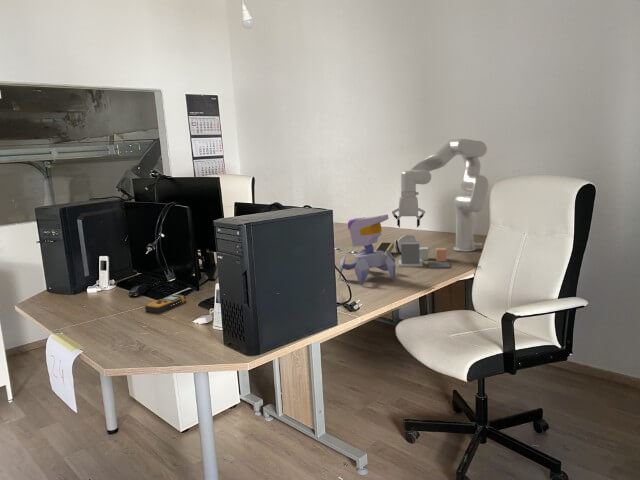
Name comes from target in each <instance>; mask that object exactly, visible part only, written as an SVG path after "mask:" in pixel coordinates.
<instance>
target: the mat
mask: <svg viewBox="0 0 640 480" xmlns="http://www.w3.org/2000/svg"><path fill="white" fill-rule="evenodd" d="M427 263H428V268H429V269H451V265H450V262H449V261H428V262H427Z"/></svg>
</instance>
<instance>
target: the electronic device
mask: <svg viewBox="0 0 640 480" xmlns="http://www.w3.org/2000/svg"><path fill="white" fill-rule="evenodd" d="M186 298H187V297H186V296H185V295H183V294H176V293H175V295H173V294H171V295H167V296H166V297H163V298H160V299H158V300H155V301H153V302H149V303H148V304H146V305H145V307H144V309H145V312H146V313H147V312H148V313H153V314H160V313H163V312H165V311H168V310H171V309H172V308H175V307H177V306H180V305H181V304H184V303H187V299H186ZM184 299H186V300H184ZM182 300H183V301H182ZM180 301H181V302H180ZM178 302H179V303H178ZM176 303H177V304H176ZM173 304H175V305H173ZM171 305H172V306H171Z"/></svg>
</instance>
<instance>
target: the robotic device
mask: <svg viewBox="0 0 640 480" xmlns="http://www.w3.org/2000/svg"><path fill="white" fill-rule="evenodd" d="M387 220H389V215H388V214H383V215H376V216H369V217H359V218H358V217H357V218H353V219H352V218H351V219H349V220H348V222H347V229H348V230H349V234H350V239H351V245H352V247H353V248H355V247H364V248H362V249H361V250H360V251H359V252H358V254H355V255H354V258H355V262H350V263H349V264H348V263H345V261H346V255H347V254H345V255H343V257H342V258H341V259H340V262H339V270H338V271H340V272H341V275H340V274H339V273H338V275H339V278H341V277H342V272H343V270H346V271H351V270H354V272H355V273H354V274H355V275H356V278H357V280H358V283H359V285H360V286H361V287H362V286H363V285H364V283H365V281H366V280H367V277H368V275H369V273H370V272H371V269H373V268H377V269H379V270H381V271H384V272H388V273H389V275H390V277H391V280H392V281H391V282H394V281H395V275H396V269H397V268H396V259H395V257H394V256H393V255H392V253H391V252H390V253H389V252H388V251H387V250H386V252H385V255H386V259H385V255H384V252H383V251H374V250H375V249H374V244H377V243H378V240H379V237H380V236H381V235H382V224H381V223H383V222H385V221H387Z"/></svg>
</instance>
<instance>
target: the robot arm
mask: <svg viewBox="0 0 640 480" xmlns="http://www.w3.org/2000/svg"><path fill="white" fill-rule="evenodd" d="M487 149H488V147H487V144H486V143H485V142H483V141H482V140H476V139H475V140H473V139H469V138H468V139H467V138H452V139H449V140H448V141H446V142H445V143H444V144H443V145H442V146H441V147H440V148H439V149H438V150H436V151H435V152H434V153H433V154H432V155H429V156H428V157H426V158H424V159H422V160H421V161H419V162H418V163H416V164H415V165H414V166H413V167H412V168H411V169H410V170H405V171H404V170H403V171H401V173H400V174H401V175H400V180H401V181H400V188H401V189H400V197H399V201H398V208H396V209H394V210H392V211H391V213H392V216H393V218H395V219H396V221H397V222H396V225H397V227H398V228H400V227H401V218H402V217H416V218H417V219H416V227H417V228H419V227H420V226H421V219H422V218H423V217H424V216H425V214H426V210H424V209H422V208H419V199H418V195H419V192H417V187H416V186H417V185H427V184H429V183H430V182H431V180H432V174H431V172H432V171H434V170H438V169H441V168H443V167H445V166H446V165H447V164H448V163H449V162H450V161H451V160H453V158H455V157H456V156H461V158H462V160H463V162H464V168H463V173H462V177H461V181H460V182H461V183H460V187H461V190H462V191H464V192H470V193H460V194H457V195H456V196H455V198H454V200H453V207H454V212H455V246H453V247H452V250H453V251H456V252H463V253H464V252H465V253H466V252H474V251H476V250H477V247H482V246H483V243H482V242H475V241H474V214H473V213H478V212H481V211H482V210H483V209H484V206H485V202H486V198H487V194H488V191H489V190H488V189H489V180H488V178H487V177H486V176H485V175H482V174H481V173H480V172H481V167H482V165H481V161H480V159H479V158H481V157H482V158H483V156H485V155H486V153H487ZM397 212H398V215H397V214H396V213H397ZM419 212H421V214H420V215H419Z"/></svg>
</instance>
